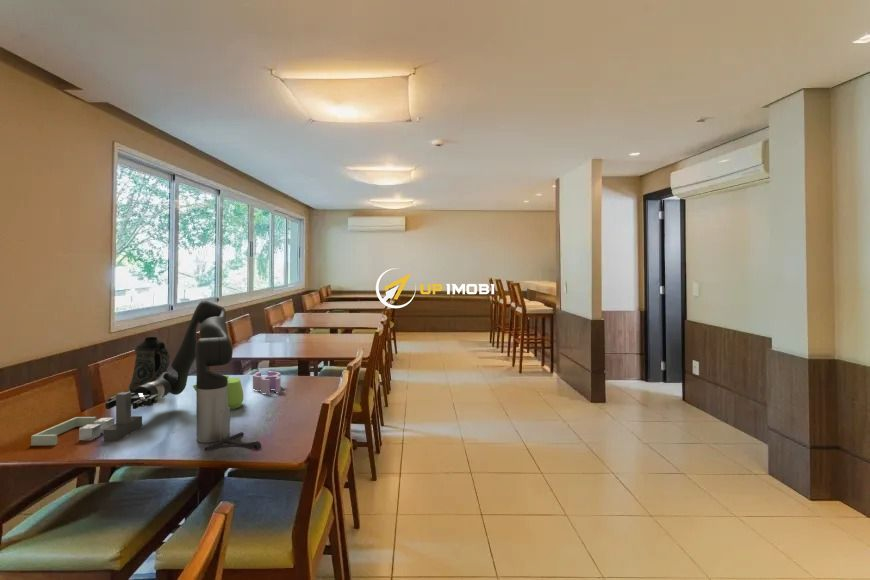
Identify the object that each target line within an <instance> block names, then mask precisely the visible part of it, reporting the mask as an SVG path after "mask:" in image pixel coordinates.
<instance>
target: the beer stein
mask: <svg viewBox="0 0 870 580" xmlns="http://www.w3.org/2000/svg"><path fill="white" fill-rule="evenodd" d="M133 350H134V353H135V361H134V367H133V373H132V376H131V382H130V383H129V385H128V390H129V392H132V391H133V390H134V389H135V388H136V387H139V386H141V385H144V384H146V383H149V382H153V381H155V380H157V379H158V378H159V376H160V375H161V374H162V373H164V372H169V371H168V367H169V366H170V362H171V356H170V353H169V351H168V350H167V346H166V345H165V343H164V342H163V341H161V340H159V339H158V337H156V336H148V337H145V338H144V340H143V341H142V342H141V343H139V344H137V345H136V346H135V347H134V348H133Z"/></svg>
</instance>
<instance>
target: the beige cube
mask: <svg viewBox="0 0 870 580" xmlns="http://www.w3.org/2000/svg"><path fill="white" fill-rule="evenodd" d="M94 424H100V426H101V434H104V429H106V428H108V427H110V426H112V425H114V424H115V417H101V418H98V419H97V420H96V421H94Z"/></svg>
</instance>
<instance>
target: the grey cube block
mask: <svg viewBox="0 0 870 580" xmlns="http://www.w3.org/2000/svg"><path fill="white" fill-rule="evenodd" d="M78 430H79V431H78V436H79V437H78V441H79V440H83V441H94V440H96V439H97V437H98V438H99V436H100V437H102V436H101V435H102V433H101V426H100V424H88V425H86V426H80V427H79V428H78ZM95 438H96V439H95ZM93 439H94V440H93Z"/></svg>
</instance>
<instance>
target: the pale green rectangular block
mask: <svg viewBox="0 0 870 580" xmlns="http://www.w3.org/2000/svg"><path fill="white" fill-rule="evenodd" d="M96 420H98V419H97V416H75V417H73V418H71V419H68V420H66V421H63V422H61V423H59V424H56V425H54V426H52V427H49V428H47V429H44V430H42V431H39V432H37V433H35V434H33V435H30V443H31V444H30V446H56V445H58V436H59V435H61V434H63V433H66V432H68V431H70V430H72V429H75V428H76V427H83V426H86V425H88V424H94V421H96Z"/></svg>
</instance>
